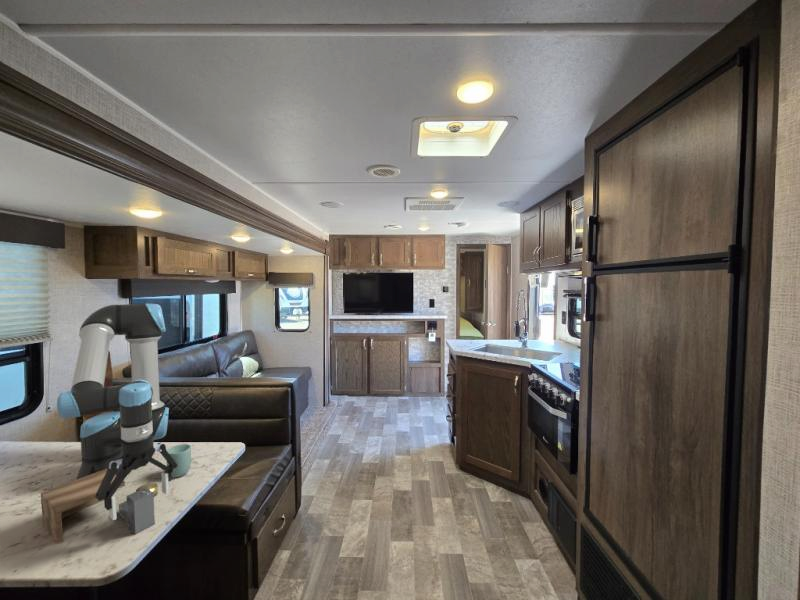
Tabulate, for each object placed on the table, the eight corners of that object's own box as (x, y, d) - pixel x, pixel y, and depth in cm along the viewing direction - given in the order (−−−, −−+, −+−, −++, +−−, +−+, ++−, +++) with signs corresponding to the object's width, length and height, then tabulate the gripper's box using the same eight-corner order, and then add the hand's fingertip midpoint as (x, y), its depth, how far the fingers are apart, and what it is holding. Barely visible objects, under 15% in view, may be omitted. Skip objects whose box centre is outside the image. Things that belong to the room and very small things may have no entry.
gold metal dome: (133, 497, 118) (132, 489, 118) (153, 489, 123) (152, 480, 123) (140, 504, 115) (140, 495, 115) (161, 494, 120) (160, 486, 120)
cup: (174, 469, 136) (173, 444, 135) (195, 468, 137) (194, 443, 136) (162, 480, 128) (161, 454, 128) (184, 479, 129) (183, 453, 128)
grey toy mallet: (114, 516, 109) (112, 485, 108) (132, 507, 113) (131, 477, 113) (135, 534, 101) (133, 501, 100) (154, 524, 105) (153, 492, 105)
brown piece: (42, 525, 105) (40, 493, 104) (108, 496, 119) (106, 468, 118) (58, 543, 98) (56, 509, 97) (126, 511, 111) (124, 481, 111)
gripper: (88, 459, 90) (92, 535, 92) (188, 424, 111) (190, 487, 113) (77, 451, 94) (82, 524, 96) (176, 418, 115) (178, 479, 117)
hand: (140, 504), depth 105 cm, fingers open, 13 cm apart
